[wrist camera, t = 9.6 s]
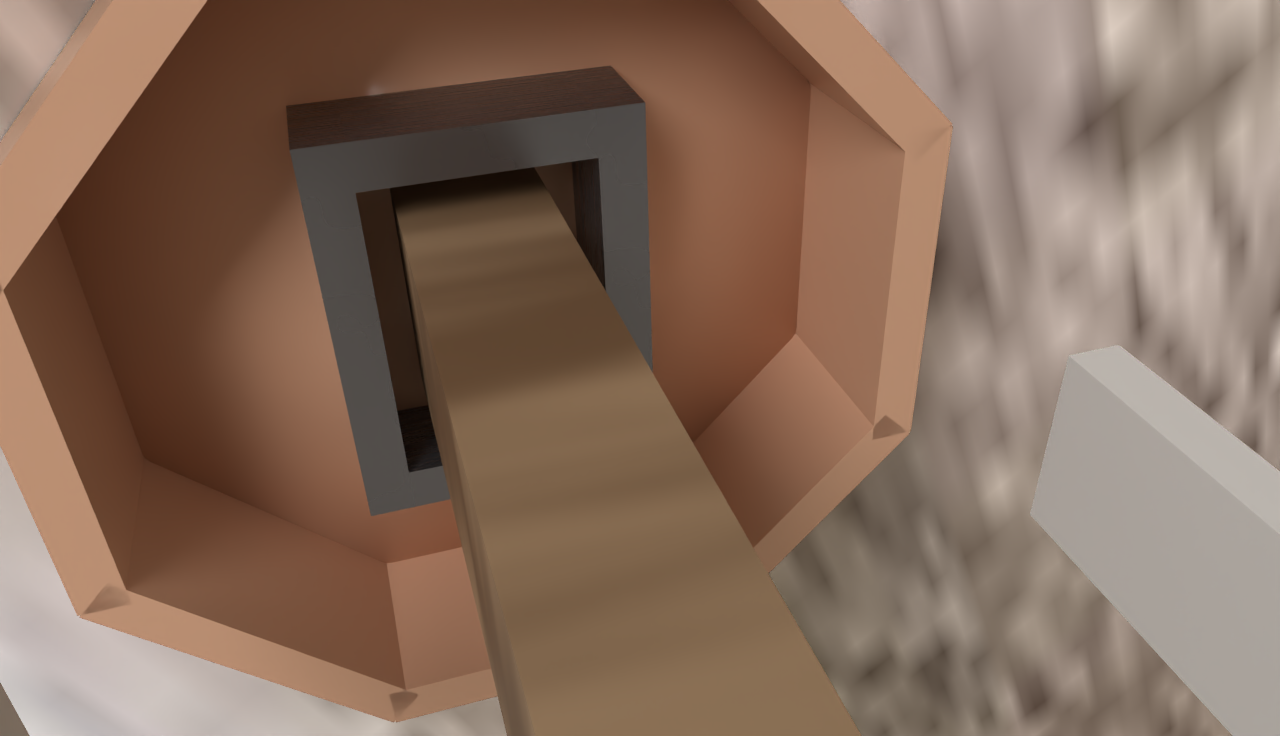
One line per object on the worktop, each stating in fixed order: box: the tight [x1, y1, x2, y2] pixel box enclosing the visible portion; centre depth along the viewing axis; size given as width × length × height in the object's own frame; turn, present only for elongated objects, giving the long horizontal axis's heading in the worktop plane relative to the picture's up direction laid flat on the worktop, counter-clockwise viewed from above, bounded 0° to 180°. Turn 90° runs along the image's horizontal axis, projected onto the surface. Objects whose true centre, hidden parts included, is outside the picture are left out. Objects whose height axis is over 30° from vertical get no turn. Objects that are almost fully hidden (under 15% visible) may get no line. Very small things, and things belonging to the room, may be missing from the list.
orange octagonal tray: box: [0, 0, 953, 722], centre depth 19 cm, size 15×15×4 cm
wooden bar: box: [389, 167, 861, 736], centre depth 14 cm, size 4×2×14 cm, turn 2°
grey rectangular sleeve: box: [286, 65, 653, 516], centre depth 19 cm, size 7×5×2 cm
